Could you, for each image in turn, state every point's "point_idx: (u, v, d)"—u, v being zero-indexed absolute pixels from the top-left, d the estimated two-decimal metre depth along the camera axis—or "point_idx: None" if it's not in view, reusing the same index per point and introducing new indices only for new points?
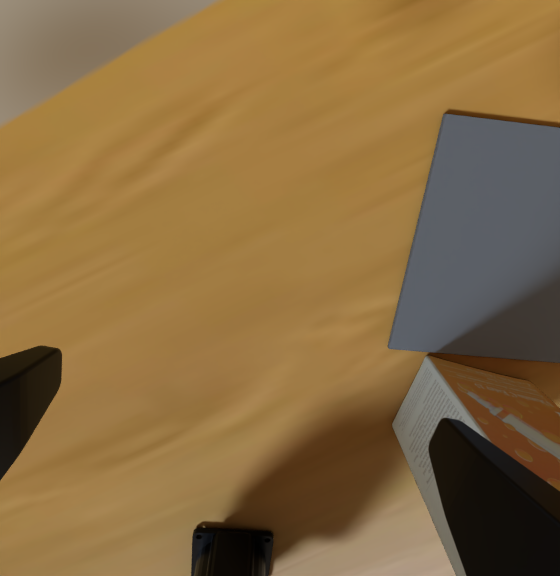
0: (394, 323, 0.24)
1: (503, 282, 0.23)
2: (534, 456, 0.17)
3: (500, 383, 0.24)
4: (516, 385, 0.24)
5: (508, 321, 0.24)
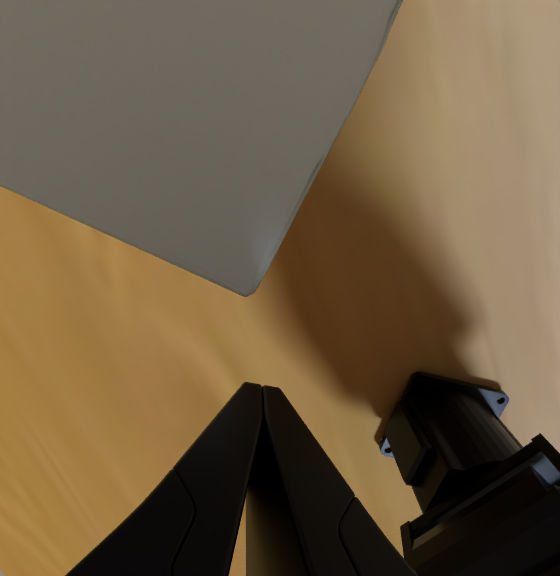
0: None
1: None
2: None
3: None
4: None
5: None
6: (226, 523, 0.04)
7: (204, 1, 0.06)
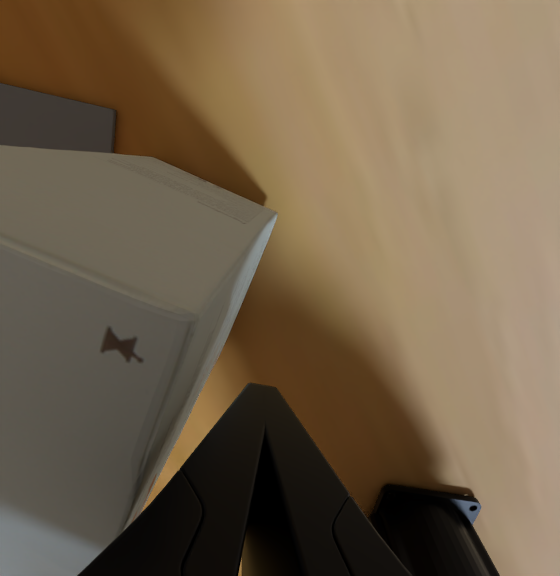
0: None
1: None
2: None
3: None
4: None
5: None
6: (234, 524, 0.04)
7: None
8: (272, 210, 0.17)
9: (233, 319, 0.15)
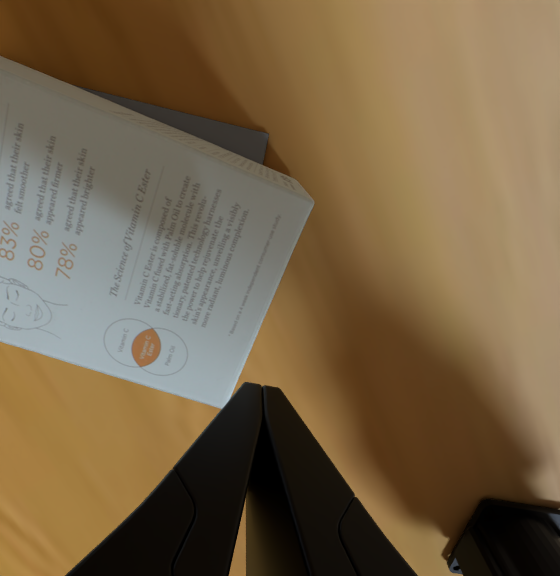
0: None
1: None
2: None
3: None
4: None
5: None
6: (226, 523, 0.04)
7: None
8: (305, 196, 0.11)
9: (167, 297, 0.11)
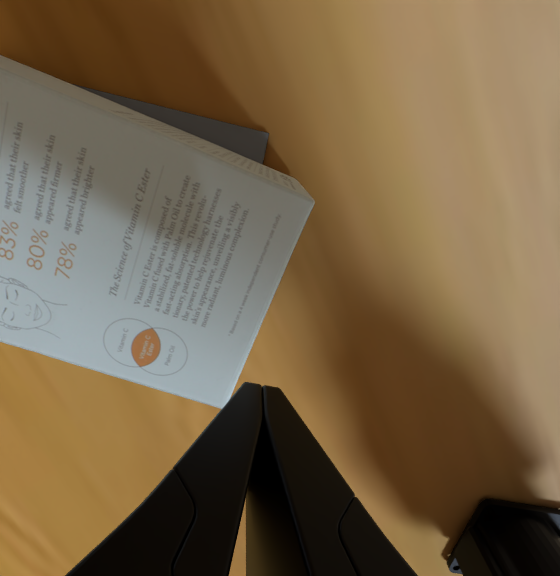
0: None
1: None
2: None
3: None
4: None
5: None
6: (226, 523, 0.04)
7: None
8: (305, 195, 0.11)
9: (166, 297, 0.11)
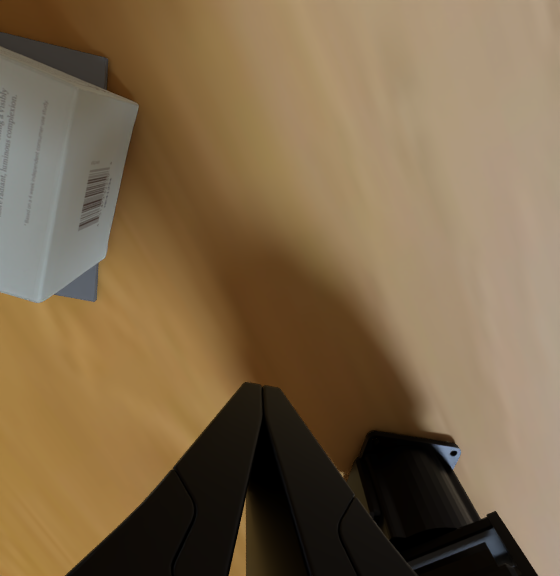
0: None
1: None
2: None
3: None
4: None
5: None
6: (226, 523, 0.04)
7: None
8: (73, 84, 0.12)
9: None
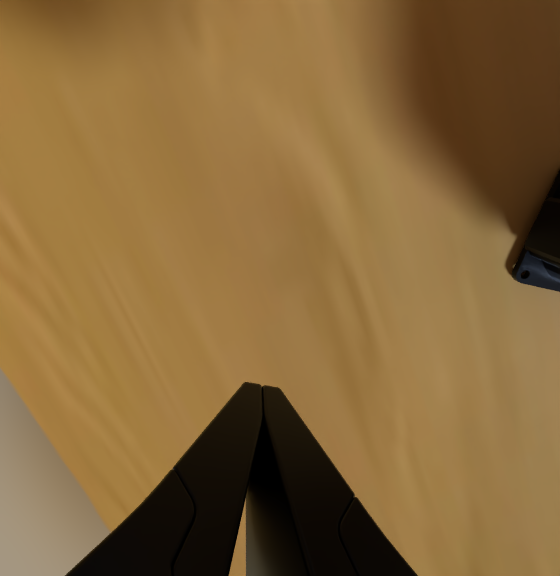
0: None
1: None
2: None
3: None
4: None
5: None
6: (226, 523, 0.04)
7: None
8: None
9: None
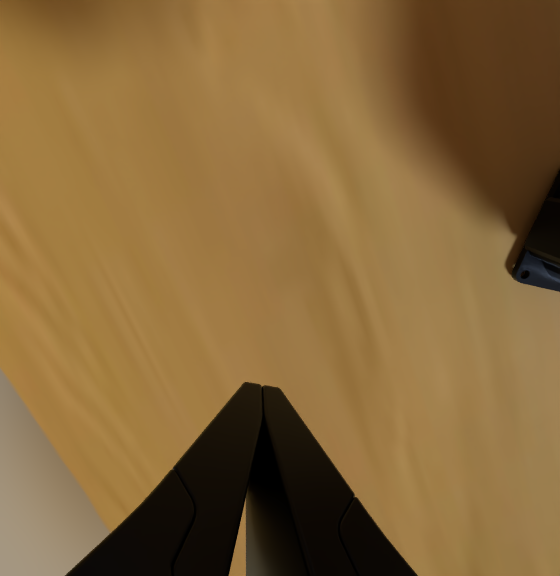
0: None
1: None
2: None
3: None
4: None
5: None
6: (226, 523, 0.04)
7: None
8: None
9: None
